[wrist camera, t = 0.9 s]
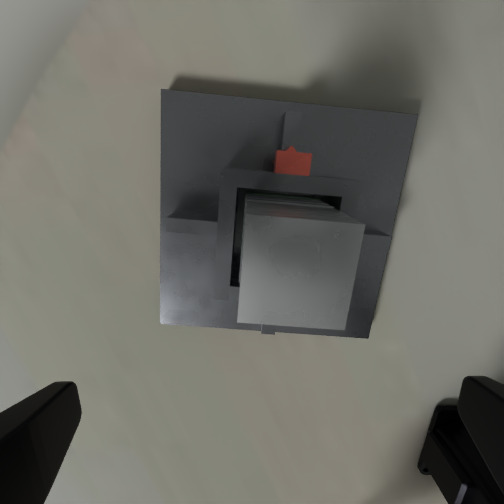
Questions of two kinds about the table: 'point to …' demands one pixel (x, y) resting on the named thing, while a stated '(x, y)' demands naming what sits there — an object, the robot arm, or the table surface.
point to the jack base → (271, 182)
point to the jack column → (297, 262)
